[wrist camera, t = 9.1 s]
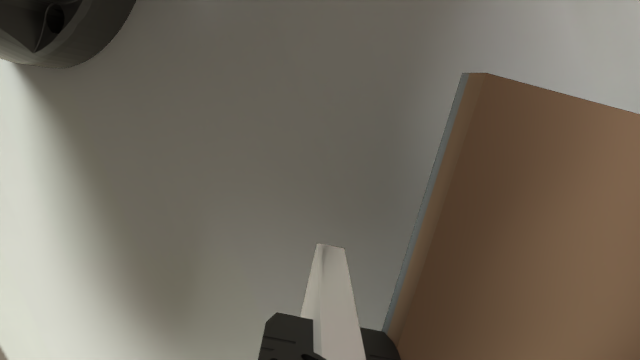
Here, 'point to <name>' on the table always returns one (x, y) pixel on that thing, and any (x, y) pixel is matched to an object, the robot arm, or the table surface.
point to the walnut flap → (525, 232)
